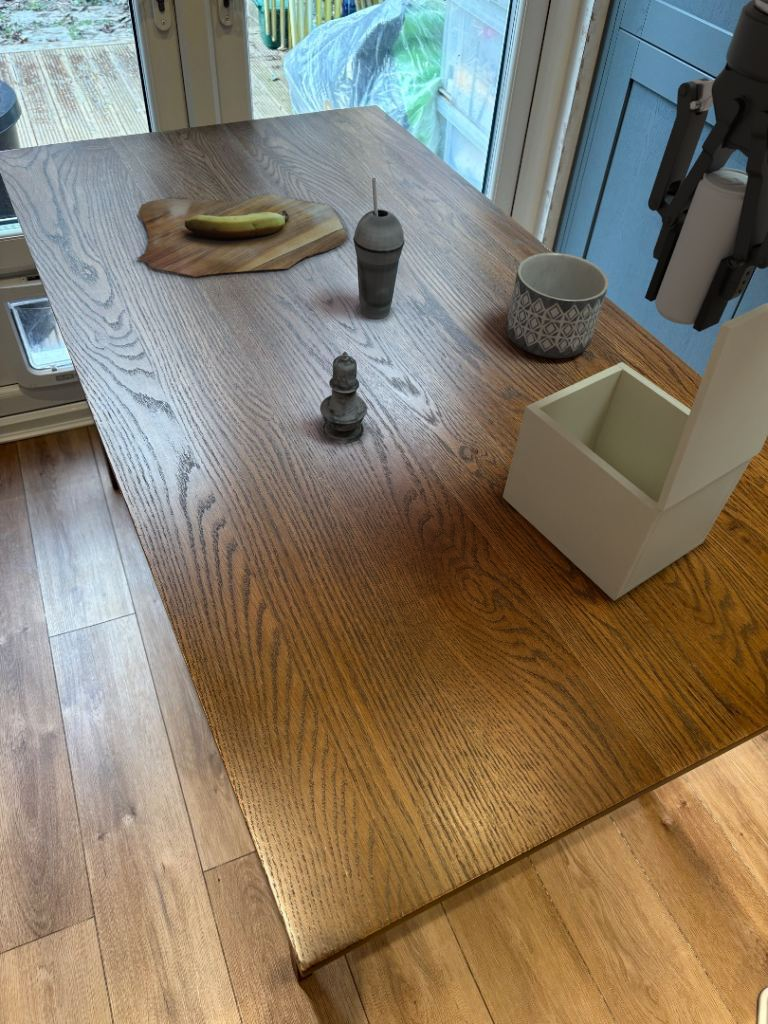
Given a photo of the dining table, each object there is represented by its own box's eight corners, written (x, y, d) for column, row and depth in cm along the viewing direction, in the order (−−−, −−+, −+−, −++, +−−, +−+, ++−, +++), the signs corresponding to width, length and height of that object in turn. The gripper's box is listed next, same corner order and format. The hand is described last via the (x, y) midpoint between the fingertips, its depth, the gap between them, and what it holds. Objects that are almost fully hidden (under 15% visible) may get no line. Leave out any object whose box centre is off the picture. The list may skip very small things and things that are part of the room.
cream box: (502, 497, 89) (525, 406, 79) (589, 451, 96) (622, 361, 85) (614, 601, 80) (657, 513, 69) (703, 542, 86) (754, 454, 76)
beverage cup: (390, 329, 111) (399, 196, 96) (344, 318, 112) (346, 185, 98) (404, 304, 116) (416, 174, 101) (360, 293, 117) (365, 164, 102)
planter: (494, 350, 109) (507, 286, 101) (516, 306, 117) (530, 244, 109) (579, 373, 106) (599, 310, 99) (596, 327, 115) (615, 265, 107)
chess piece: (356, 450, 93) (359, 372, 84) (312, 437, 94) (311, 359, 85) (372, 421, 97) (377, 344, 88) (330, 409, 98) (331, 332, 89)
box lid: (721, 323, 56) (730, 328, 56) (832, 271, 63) (841, 275, 62) (655, 507, 69) (662, 512, 69) (753, 448, 76) (760, 453, 75)
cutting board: (139, 283, 115) (134, 260, 112) (132, 202, 133) (128, 180, 130) (360, 265, 123) (361, 243, 120) (326, 190, 140) (326, 169, 137)
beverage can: (717, 324, 67) (778, 191, 58) (670, 330, 65) (725, 195, 57) (688, 295, 70) (741, 164, 61) (642, 300, 69) (690, 168, 60)
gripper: (663, -21, 53) (580, 275, 70) (899, 56, 44) (737, 376, 61) (729, -31, 56) (634, 255, 74) (961, 40, 47) (790, 348, 64)
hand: (681, 309), depth 67 cm, fingers closed on beverage can, 5 cm apart
